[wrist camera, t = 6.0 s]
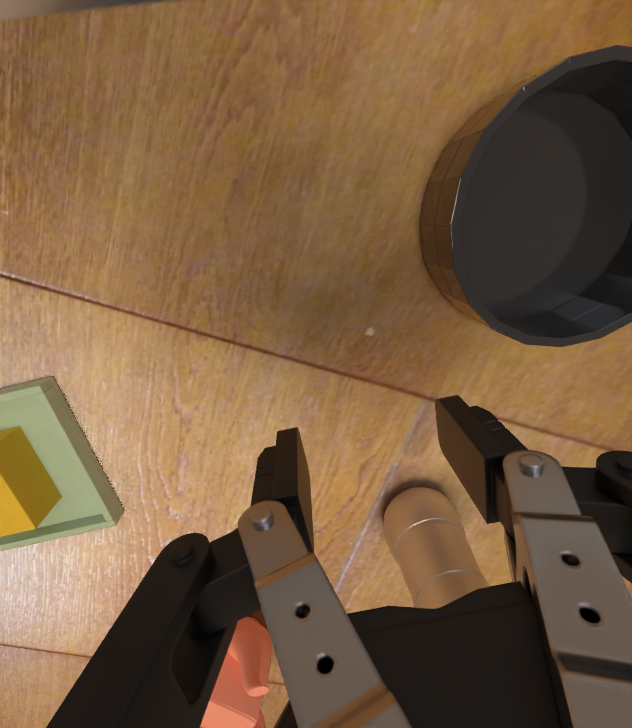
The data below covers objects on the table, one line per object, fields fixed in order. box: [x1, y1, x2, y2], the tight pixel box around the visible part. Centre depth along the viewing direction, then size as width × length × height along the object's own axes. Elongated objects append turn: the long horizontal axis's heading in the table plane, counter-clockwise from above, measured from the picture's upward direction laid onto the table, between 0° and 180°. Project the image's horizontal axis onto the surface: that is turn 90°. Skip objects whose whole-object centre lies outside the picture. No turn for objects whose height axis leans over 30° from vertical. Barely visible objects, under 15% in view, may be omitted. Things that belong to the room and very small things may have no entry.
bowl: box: [420, 45, 632, 347], centre depth 24 cm, size 15×15×6 cm
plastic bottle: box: [383, 487, 490, 609], centre depth 26 cm, size 6×7×20 cm
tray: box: [0, 377, 124, 551], centre depth 30 cm, size 13×12×2 cm
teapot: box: [200, 617, 272, 728], centre depth 35 cm, size 14×12×10 cm
